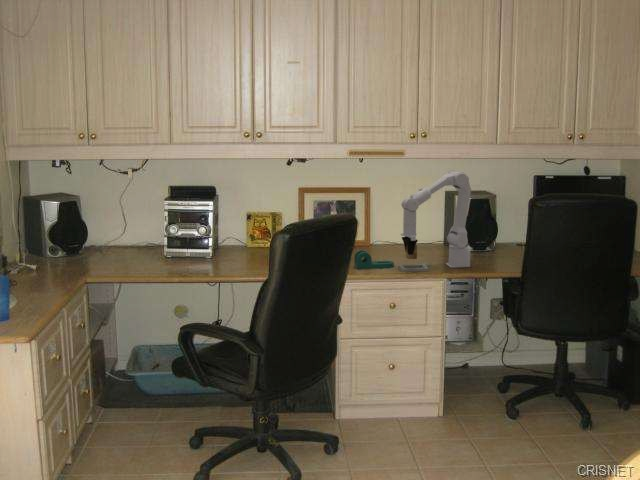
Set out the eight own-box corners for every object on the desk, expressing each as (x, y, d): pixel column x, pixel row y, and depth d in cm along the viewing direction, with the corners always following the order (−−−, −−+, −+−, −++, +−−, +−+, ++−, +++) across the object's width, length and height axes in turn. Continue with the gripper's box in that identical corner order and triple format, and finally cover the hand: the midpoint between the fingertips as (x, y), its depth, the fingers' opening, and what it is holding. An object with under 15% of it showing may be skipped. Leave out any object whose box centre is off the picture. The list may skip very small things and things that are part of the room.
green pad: (428, 263, 330) (428, 262, 330) (431, 266, 324) (431, 265, 324) (416, 263, 329) (416, 262, 329) (419, 266, 323) (419, 265, 323)
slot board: (423, 266, 323) (423, 264, 323) (428, 271, 314) (429, 268, 314) (398, 267, 322) (398, 264, 322) (402, 271, 313) (403, 269, 313)
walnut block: (414, 257, 319) (415, 244, 318) (416, 258, 315) (417, 245, 314) (406, 257, 319) (406, 244, 318) (408, 259, 315) (408, 246, 314)
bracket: (357, 269, 318) (357, 253, 317) (354, 266, 325) (354, 250, 324) (395, 268, 321) (395, 251, 320) (391, 265, 328) (391, 248, 326)
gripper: (397, 221, 321) (397, 250, 323) (404, 226, 306) (404, 257, 309) (412, 221, 321) (412, 250, 324) (420, 226, 307) (419, 256, 310)
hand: (409, 253), depth 316 cm, fingers closed on walnut block, 4 cm apart
